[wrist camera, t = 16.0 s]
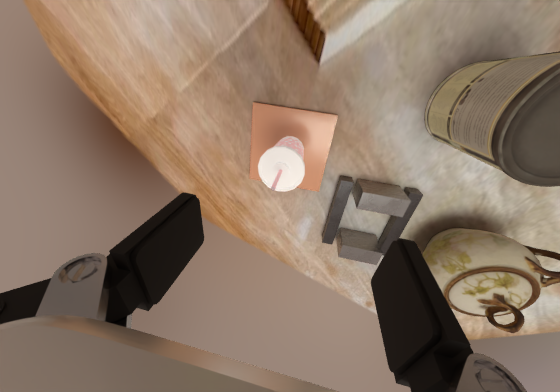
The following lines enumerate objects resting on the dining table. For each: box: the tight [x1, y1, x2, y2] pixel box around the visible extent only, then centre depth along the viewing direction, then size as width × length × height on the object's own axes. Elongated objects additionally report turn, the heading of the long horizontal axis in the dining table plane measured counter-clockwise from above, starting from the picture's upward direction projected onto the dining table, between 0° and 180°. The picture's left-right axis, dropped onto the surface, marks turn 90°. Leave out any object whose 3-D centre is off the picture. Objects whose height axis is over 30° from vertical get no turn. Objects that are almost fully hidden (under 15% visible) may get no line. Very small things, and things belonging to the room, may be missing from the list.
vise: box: [322, 175, 423, 265], centre depth 35 cm, size 13×14×5 cm
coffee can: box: [425, 52, 560, 187], centre depth 21 cm, size 10×10×14 cm
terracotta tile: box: [249, 102, 338, 192], centre depth 34 cm, size 13×13×1 cm
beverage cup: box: [258, 136, 305, 191], centre depth 27 cm, size 6×6×14 cm
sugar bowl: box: [422, 228, 560, 333], centre depth 31 cm, size 20×15×15 cm
